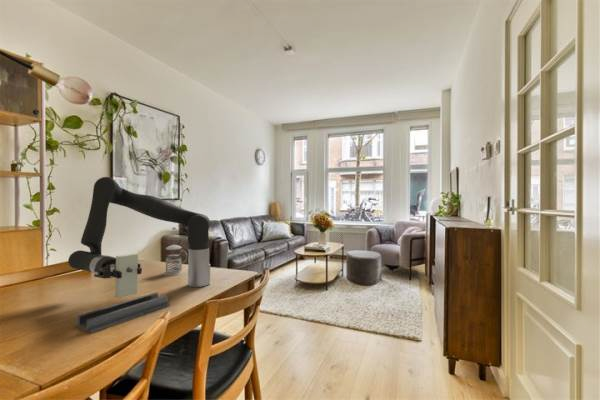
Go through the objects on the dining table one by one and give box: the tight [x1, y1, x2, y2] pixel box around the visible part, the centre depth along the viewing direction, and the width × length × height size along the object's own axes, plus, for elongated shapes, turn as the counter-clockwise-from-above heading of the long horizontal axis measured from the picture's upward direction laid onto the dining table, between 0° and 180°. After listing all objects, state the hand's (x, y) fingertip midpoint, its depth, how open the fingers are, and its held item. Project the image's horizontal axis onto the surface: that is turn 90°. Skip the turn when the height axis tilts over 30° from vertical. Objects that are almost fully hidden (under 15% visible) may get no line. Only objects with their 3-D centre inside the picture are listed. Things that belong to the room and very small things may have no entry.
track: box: [75, 292, 171, 334], centre depth 97 cm, size 26×10×4 cm, turn 150°
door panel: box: [114, 252, 139, 299], centre depth 97 cm, size 6×4×14 cm, turn 149°
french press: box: [163, 226, 188, 276], centre depth 152 cm, size 10×12×25 cm
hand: (130, 273), depth 96 cm, fingers closed on door panel, 6 cm apart
